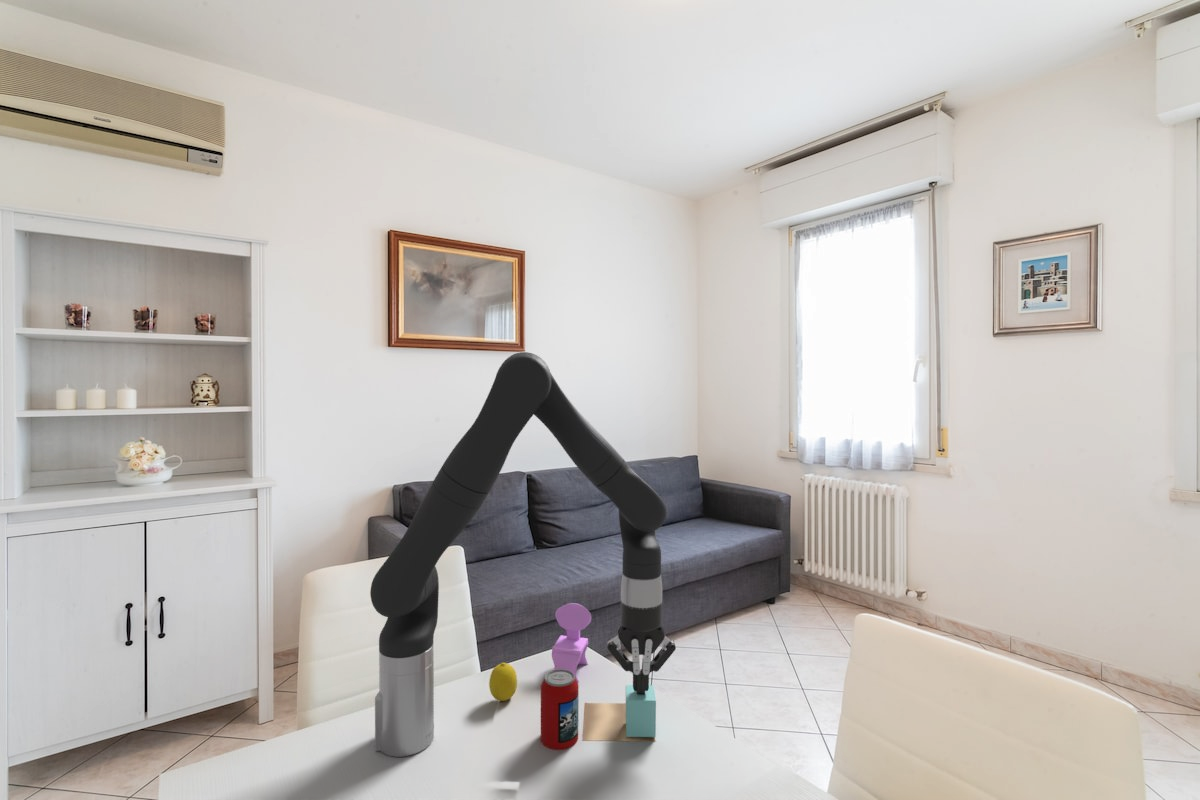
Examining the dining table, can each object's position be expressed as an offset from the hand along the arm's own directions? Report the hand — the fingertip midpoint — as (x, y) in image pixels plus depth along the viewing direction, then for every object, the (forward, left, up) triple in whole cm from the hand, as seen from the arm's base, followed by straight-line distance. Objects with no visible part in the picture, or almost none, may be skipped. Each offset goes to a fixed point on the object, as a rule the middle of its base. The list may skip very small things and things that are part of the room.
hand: (640, 691), depth 106 cm
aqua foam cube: (0, 0, -7) cm, 7 cm away
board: (-4, +3, -8) cm, 9 cm away
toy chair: (-14, +22, -8) cm, 27 cm away
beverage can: (-15, -2, -8) cm, 17 cm away
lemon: (-27, +11, -8) cm, 30 cm away
